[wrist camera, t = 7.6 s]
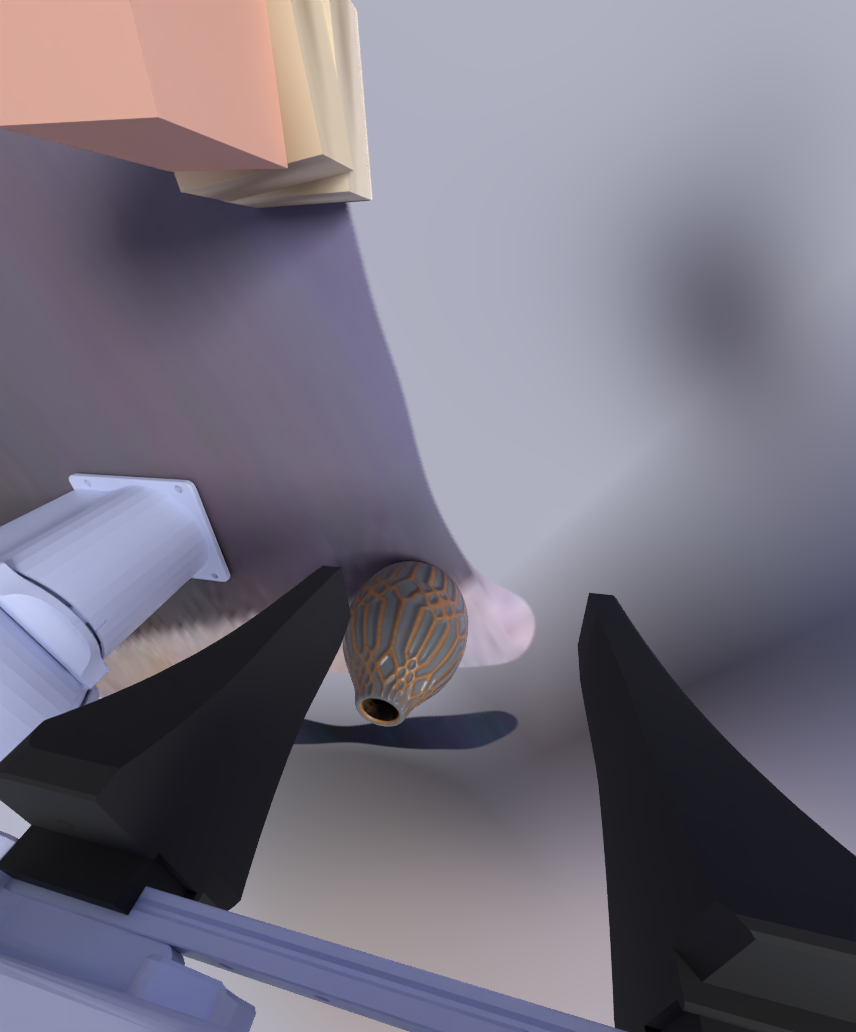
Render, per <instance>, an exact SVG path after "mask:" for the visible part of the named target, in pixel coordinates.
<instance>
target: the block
mask: <svg viewBox="0 0 856 1032" xmlns="http://www.w3.org/2000/svg"><path fill="white" fill-rule="evenodd" d="M0 128H3V129H6V130H10V131H14V132H18V133H22V134H26V135H30V136H34V137H37V138H41V139H45V140H49V141H53V142H57V143H61V144H65V145H68V146H72V147H76V148H80V149H84V150H88V151H92V152H96V153H100V154H103V155H107V156H111V157H115V158H119V159H123V160H127V161H131V162H134V163H138V164H142V165H146V166H150V167H154V168H158V169H162V170H166V171H169V172H178V171H214V170H251V169H288V165H287V157H286V150H285V142H284V135H283V127H282V120H281V112H280V105H279V97H278V90H277V82H276V75H275V67H274V59H273V52H272V44H271V37H270V29H269V22H268V14H267V7H266V0H0Z"/></svg>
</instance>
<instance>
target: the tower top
mask: <svg viewBox="0 0 856 1032" xmlns="http://www.w3.org/2000/svg"><path fill="white" fill-rule="evenodd" d="M266 7H267V14H268V22H269V29H270V37H271V44H272V52H273V59H274V67H275V75H276V82H277V90H278V97H279V105H280V112H281V120H282V127H283V135H284V142H285V150H286V157H287V165H288V169H251V170H214V171H178V172H174V174H175V177H176V180H177V183H178V185H179V188H180V191H181V192H183V193H188V194H193V195H198V196H203V197H208V198H213V199H218V200H222V201H227V202H231V201H235V200H239V199H243V198H247V197H251V196H255V195H259V194H263V193H267V192H271V191H275V190H279V189H283V188H287V187H291V186H295V185H299V184H303V183H307V182H311V181H315V180H319V179H323V178H327V177H331V176H335V175H339V174H343V173H347V172H351V171H354V167H353V162H352V156H351V151H350V145H349V140H348V134H347V129H346V123H345V118H344V112H343V107H342V101H341V96H340V90H339V85H338V80H337V75H336V69H335V64H334V58H333V53H332V47H331V42H330V36H329V31H328V25H327V20H326V14H325V9H324V4H323V0H266Z"/></svg>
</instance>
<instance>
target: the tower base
mask: <svg viewBox="0 0 856 1032" xmlns="http://www.w3.org/2000/svg"><path fill="white" fill-rule="evenodd" d="M323 4H324V9H325V14H326V20H327V25H328V31H329V36H330V42H331V47H332V53H333V58H334V64H335V69H336V75H337V80H338V85H339V90H340V96H341V101H342V107H343V112H344V118H345V123H346V129H347V134H348V140H349V145H350V151H351V156H352V162H353V167H354V171H351V172H347V173H343V174H339V175H335V176H331V177H327V178H323V179H319V180H315V181H311V182H307V183H303V184H299V185H295V186H291V187H287V188H283V189H279V190H275V191H271V192H267V193H263V194H259V195H255V196H251V197H247V198H243V199H239V200H235V201H231V202H229V203H234V204H239V205H244V206H249V207H254V208H265V207H279V206H292V205H306V204H320V203H334V202H360V201H372V200H373V198H372V186H371V175H370V161H369V150H368V138H367V125H366V113H365V101H364V89H363V77H362V64H361V52H360V41H359V28H358V16H357V10H356V8H355V7H354V5H353V4H352V3H351V1H350V0H323ZM224 202H227V201H224Z"/></svg>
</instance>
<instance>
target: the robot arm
mask: <svg viewBox="0 0 856 1032" xmlns="http://www.w3.org/2000/svg"><path fill="white" fill-rule="evenodd" d="M69 481H70V483H71V485H72V487H73V488H74V490H73V491H71V492H69V493H67V494H65V495H63V496H61V497H59V498H57V499H55V500H53V501H51V502H49V503H47V504H45V505H43V506H41V507H39V508H37V509H35V510H33V511H31V512H29V513H27V514H25V515H23V516H21V517H19V518H17V519H15V520H13V521H11V522H9V523H7V524H5V525H3V526H1V527H0V800H1V801H2V802H4V803H5V804H6V805H7V806H9V807H10V808H11V809H12V810H14V811H15V812H16V813H17V814H19V815H20V816H21V817H22V818H24V819H25V820H26V821H27V822H29V823H30V824H31V826H30V828H29V829H28V830H27V831H26V832H25V833H24V834H23V836H22V837H21V838H20V839H18V838H16V837H14V836H12V835H10V834H7V833H4V832H2V831H0V1032H249V1031H250V1028H251V1025H252V1023H253V1020H254V1017H255V1014H256V1011H255V1007H254V1006H253V1005H251V1004H249V1003H247V1002H246V1001H244V1000H242V999H241V998H239V997H237V996H236V995H234V994H233V993H232V992H230V991H229V990H228V989H226V987H225V986H224V985H223V983H222V982H221V981H219V980H216V979H214V978H211V977H209V976H207V975H205V974H202V973H200V972H198V971H196V970H193V969H191V968H188V967H186V966H185V962H184V958H183V956H186V957H189V958H192V959H195V960H198V961H201V962H204V963H207V964H210V965H213V966H216V967H219V968H222V969H225V970H228V971H231V972H234V973H237V974H240V975H243V976H245V977H249V978H252V979H255V980H257V981H260V982H263V983H266V984H269V985H272V986H275V987H278V988H281V989H284V990H287V991H290V992H293V993H296V994H299V995H302V996H305V997H308V998H311V999H314V1000H317V1001H320V1002H323V1003H326V1004H329V1005H332V1006H335V1007H338V1008H341V1009H344V1010H347V1011H350V1012H353V1013H356V1014H359V1015H362V1016H365V1017H368V1018H371V1019H374V1020H377V1021H379V1022H382V1023H385V1024H388V1025H391V1026H394V1027H397V1028H401V1029H403V1030H406V1031H409V1032H856V856H855V855H853V854H852V853H851V852H850V851H848V850H847V849H846V848H845V847H844V846H842V845H841V844H840V843H839V842H838V841H836V840H835V839H834V838H833V837H832V836H830V835H829V834H828V833H827V832H826V831H825V830H824V829H822V828H821V827H820V826H819V825H818V824H817V823H815V822H814V821H813V820H812V819H811V818H810V817H808V816H807V815H806V814H805V813H804V812H803V811H801V810H800V809H799V808H798V807H797V806H796V805H795V804H793V803H792V802H791V801H790V800H789V799H788V798H787V797H786V796H785V795H784V794H783V793H781V792H780V791H779V790H778V789H777V788H776V787H775V786H774V785H773V784H772V783H771V782H770V781H769V780H768V779H767V778H766V777H764V776H763V775H762V774H761V773H760V772H759V771H758V770H757V769H756V768H755V767H754V766H753V765H752V764H751V763H750V762H748V761H747V760H746V759H745V758H744V757H743V756H742V755H741V754H740V753H739V752H738V751H737V750H736V749H735V748H734V747H733V746H732V745H731V744H730V743H729V742H728V741H727V740H726V739H725V738H724V736H723V735H722V734H721V733H720V732H719V731H718V730H717V729H716V728H715V727H714V726H713V725H712V724H711V723H710V722H709V720H708V719H707V718H706V717H705V716H704V715H703V714H702V713H701V712H700V710H699V709H698V708H697V707H696V706H695V705H694V703H693V702H692V701H691V700H690V699H689V698H688V696H687V695H686V694H685V693H684V692H683V690H682V689H681V688H680V687H679V686H678V684H677V683H676V682H675V681H674V679H672V677H671V676H670V675H669V673H668V672H667V671H666V669H665V668H664V667H663V666H662V664H661V663H660V661H659V660H658V659H657V657H656V656H655V655H654V653H653V652H652V651H651V649H650V648H649V647H648V645H647V644H646V643H645V641H644V640H643V638H642V637H641V635H640V634H639V632H638V631H637V630H636V628H635V627H634V625H633V624H632V622H631V621H630V619H629V618H628V616H627V615H626V613H625V611H624V610H623V608H622V607H621V605H620V604H619V602H618V600H617V599H616V598H615V597H614V596H613V595H604V594H594V593H589V596H588V601H587V605H586V610H585V614H584V619H583V624H582V628H581V633H580V637H579V643H578V655H579V670H580V682H581V688H582V693H583V699H584V705H585V710H586V715H587V721H588V726H589V732H590V737H591V742H592V748H593V753H594V759H595V764H596V771H597V778H598V785H599V795H600V806H601V817H602V828H603V840H604V853H605V866H606V878H607V879H606V880H607V895H608V910H609V925H610V942H611V961H612V981H613V1003H614V1022H615V1028H613V1027H610V1026H607V1025H603V1024H600V1023H597V1022H594V1021H590V1020H587V1019H583V1018H580V1017H577V1016H574V1015H570V1014H567V1013H563V1012H560V1011H557V1010H554V1009H551V1008H547V1007H544V1006H541V1005H537V1004H534V1003H531V1002H527V1001H524V1000H521V999H517V998H514V997H511V996H507V995H504V994H501V993H498V992H494V991H490V990H488V989H484V988H481V987H478V986H474V985H471V984H468V983H464V982H461V981H458V980H454V979H451V978H448V977H444V976H441V975H438V974H434V973H431V972H428V971H425V970H421V969H418V968H415V967H412V966H408V965H405V964H401V963H398V962H394V961H392V960H388V959H385V958H382V957H378V956H375V955H372V954H368V953H365V952H362V951H359V950H355V949H352V948H349V947H345V946H342V945H339V944H335V943H332V942H329V941H325V940H322V939H319V938H315V937H312V936H309V935H306V934H302V933H299V932H296V931H292V930H289V929H286V928H282V927H279V926H275V925H272V924H269V923H266V922H263V921H259V920H256V919H253V918H249V917H246V916H243V915H239V914H236V913H233V912H229V911H228V910H230V909H231V908H232V907H234V906H235V905H236V904H237V903H238V902H239V901H240V900H241V897H242V894H243V890H244V887H245V883H246V880H247V877H248V874H249V870H250V867H251V864H252V860H253V857H254V854H255V851H256V848H257V845H258V841H259V838H260V835H261V832H262V829H263V826H264V823H265V821H266V818H267V815H268V812H269V809H270V806H271V802H272V800H273V797H274V794H275V791H276V789H277V786H278V783H279V780H280V778H281V775H282V772H283V770H284V767H285V764H286V762H287V759H288V756H289V754H290V751H291V749H292V746H293V744H294V741H295V739H296V736H297V734H298V731H299V729H300V726H301V724H302V722H303V720H304V718H305V715H306V713H307V711H308V709H309V707H310V705H311V703H312V701H313V699H314V697H315V695H316V693H317V692H318V690H319V688H320V686H321V684H322V682H323V680H324V678H325V676H326V674H327V672H328V670H329V668H330V666H331V664H332V662H333V660H334V658H335V656H336V654H337V652H338V650H339V648H340V646H341V643H342V640H343V638H344V635H345V632H346V629H347V626H348V623H349V620H350V617H351V614H350V609H349V604H348V599H347V594H346V589H345V584H344V579H343V574H342V569H341V568H340V567H330V566H322V567H321V568H319V569H318V570H316V571H315V572H314V573H312V574H311V575H310V576H308V577H307V578H306V579H304V580H303V581H302V582H301V583H299V584H298V585H297V586H295V587H294V588H293V589H292V590H290V591H289V592H288V593H286V594H285V595H284V596H282V597H281V598H280V599H278V600H277V601H276V602H274V603H273V604H272V605H270V606H269V607H268V608H266V609H265V610H263V611H262V612H260V613H259V614H258V615H256V616H255V617H253V618H252V619H250V620H249V621H247V622H246V623H245V624H243V625H242V626H240V627H239V628H237V629H236V630H234V631H233V632H231V633H230V634H228V635H226V636H225V637H223V638H222V639H220V640H218V641H217V642H215V643H213V644H212V645H210V646H208V647H207V648H205V649H203V650H201V651H200V652H198V653H196V654H194V655H193V656H191V657H189V658H187V659H185V660H183V661H181V662H179V663H177V664H175V665H173V666H171V667H169V668H167V669H165V670H163V671H162V672H160V673H158V674H156V675H154V676H151V677H149V678H147V679H145V680H143V681H141V682H139V683H136V684H134V685H132V686H130V687H127V688H125V689H123V690H120V691H118V692H116V693H114V694H111V695H109V696H106V697H104V698H102V699H99V691H98V689H97V687H96V686H95V684H96V683H97V682H98V681H99V680H100V679H101V678H102V677H103V676H105V675H106V674H107V673H108V672H109V671H110V669H109V667H108V666H107V665H106V664H105V662H104V661H103V659H105V658H106V657H107V656H108V655H109V654H110V653H111V652H112V651H113V650H114V649H115V648H116V647H117V646H118V645H120V644H121V643H122V642H123V641H124V640H125V639H126V638H127V637H128V636H129V635H130V634H131V633H132V632H133V631H135V630H136V629H137V628H138V627H139V626H140V625H141V624H142V623H143V622H144V621H145V620H146V619H147V618H148V617H150V616H151V615H152V614H153V613H154V612H155V611H156V610H157V609H158V608H159V607H160V606H161V605H162V604H164V603H165V602H166V601H167V600H168V599H169V598H170V597H171V596H172V595H173V594H174V593H175V592H176V591H177V590H179V589H180V588H181V587H182V586H183V585H184V584H185V583H186V582H187V581H188V580H189V579H190V578H196V579H205V580H213V581H222V582H226V581H227V580H228V579H229V578H230V573H229V570H228V568H227V565H226V563H225V560H224V558H223V555H222V553H221V550H220V547H219V545H218V542H217V540H216V537H215V535H214V532H213V530H212V527H211V524H210V522H209V519H208V517H207V514H206V512H205V509H204V507H203V504H202V501H201V499H200V496H199V494H198V491H197V489H196V486H195V485H194V484H193V483H192V482H191V481H188V480H179V479H162V478H145V477H129V476H112V475H96V474H79V473H76V474H73V475H71V476H69ZM180 487H181V488H180ZM182 955H183V956H182Z"/></svg>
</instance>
